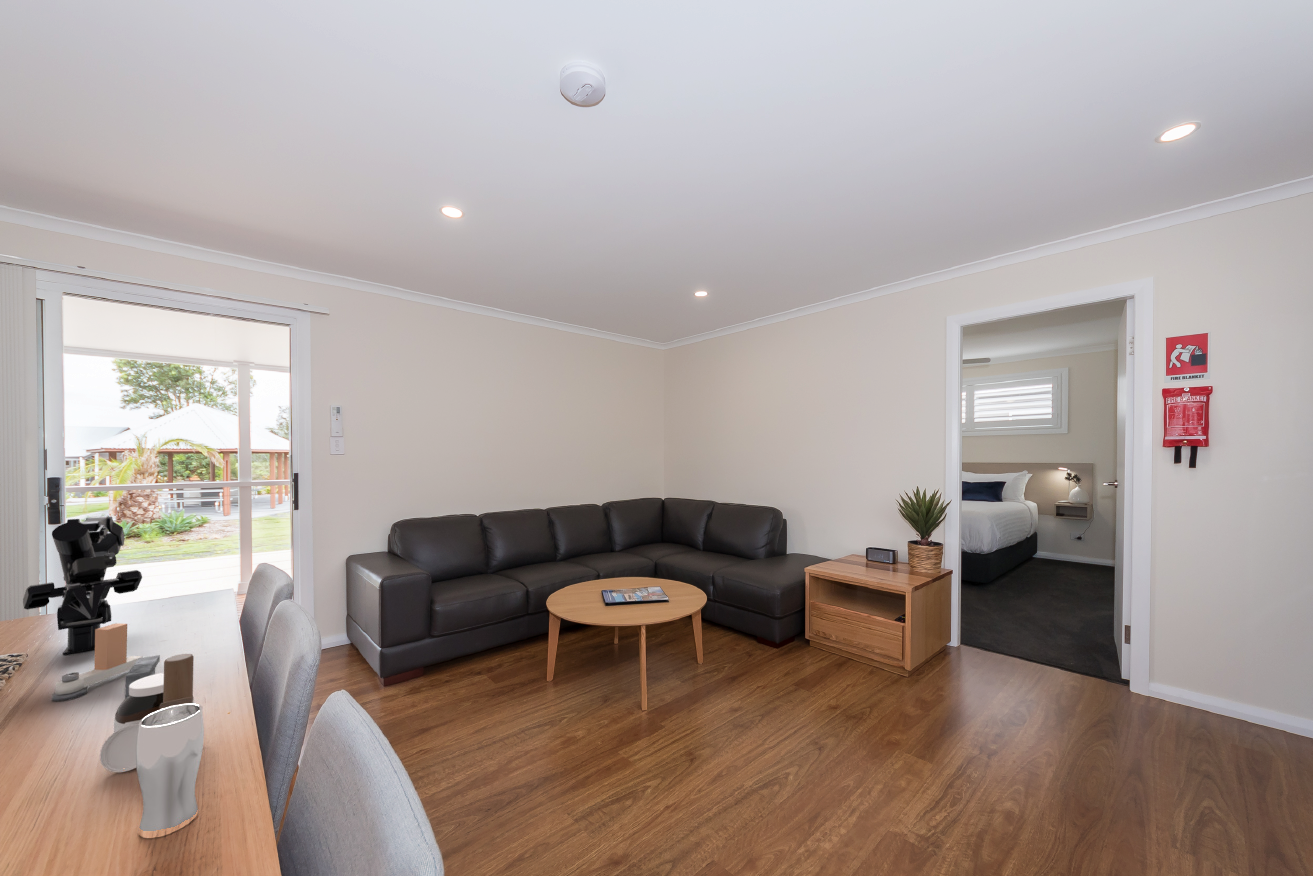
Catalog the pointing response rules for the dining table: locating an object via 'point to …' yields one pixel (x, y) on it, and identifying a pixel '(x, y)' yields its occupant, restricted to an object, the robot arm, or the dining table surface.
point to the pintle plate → (69, 696)
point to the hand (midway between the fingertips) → (92, 617)
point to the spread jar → (131, 723)
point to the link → (103, 659)
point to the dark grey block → (141, 670)
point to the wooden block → (178, 680)
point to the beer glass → (169, 764)
